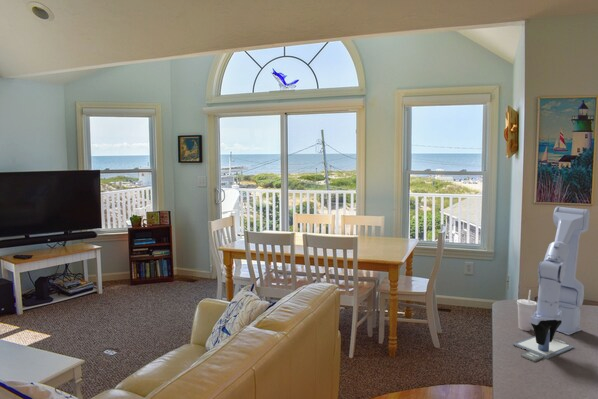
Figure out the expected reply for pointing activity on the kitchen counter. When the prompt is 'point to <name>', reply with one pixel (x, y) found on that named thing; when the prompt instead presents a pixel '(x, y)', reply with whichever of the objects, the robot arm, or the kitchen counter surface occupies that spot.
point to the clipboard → (554, 349)
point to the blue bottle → (546, 345)
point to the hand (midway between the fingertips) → (543, 342)
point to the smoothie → (525, 312)
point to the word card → (532, 356)
